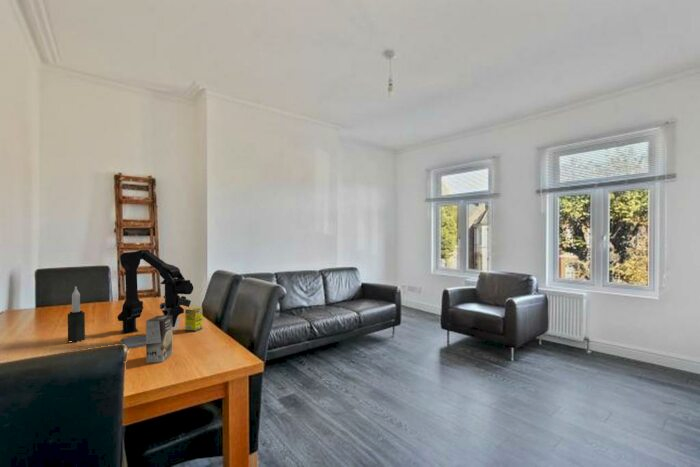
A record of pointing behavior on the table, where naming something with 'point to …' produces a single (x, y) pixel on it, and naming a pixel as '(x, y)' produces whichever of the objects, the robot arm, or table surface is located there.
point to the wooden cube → (176, 324)
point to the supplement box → (193, 319)
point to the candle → (76, 319)
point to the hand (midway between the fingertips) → (171, 325)
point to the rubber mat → (134, 341)
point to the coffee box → (159, 338)
